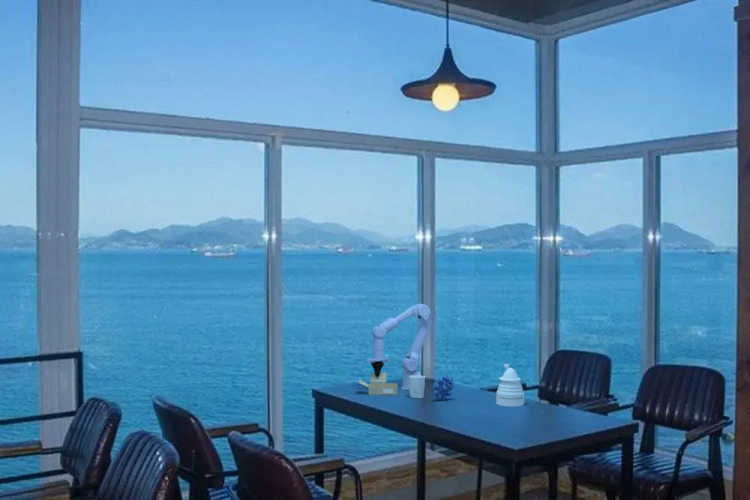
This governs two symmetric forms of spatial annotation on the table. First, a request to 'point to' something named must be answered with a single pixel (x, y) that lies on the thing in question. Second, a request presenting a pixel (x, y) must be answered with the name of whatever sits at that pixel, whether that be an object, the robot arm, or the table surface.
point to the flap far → (363, 383)
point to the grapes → (443, 387)
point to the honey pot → (510, 389)
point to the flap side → (378, 379)
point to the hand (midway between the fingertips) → (377, 376)
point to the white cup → (416, 386)
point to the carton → (382, 388)
